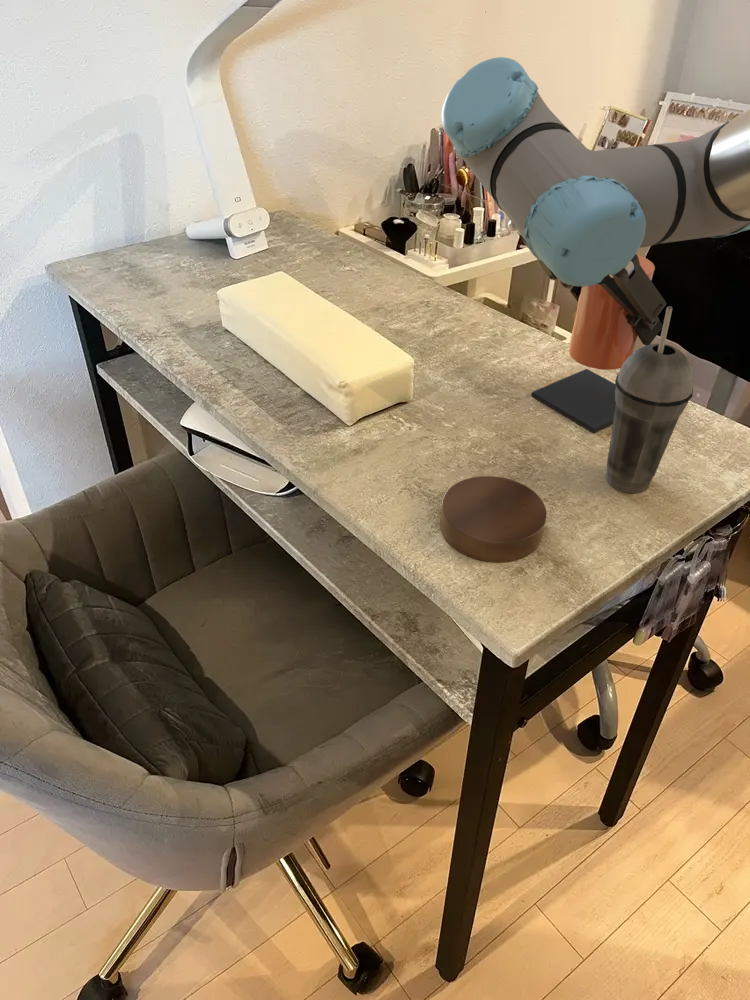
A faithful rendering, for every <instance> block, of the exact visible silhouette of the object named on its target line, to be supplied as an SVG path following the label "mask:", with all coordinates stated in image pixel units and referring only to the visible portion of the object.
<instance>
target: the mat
mask: <svg viewBox="0 0 750 1000" xmlns="http://www.w3.org/2000/svg"><path fill="white" fill-rule="evenodd" d="M615 389H616V383H615V382H613V381H611V380H609V379H607V378H605V377H603V376H601V375H599V374H598V373H595V372H593V371H592V370H589V369H588V368H585V369H582V370H580V371H577V372H576V373H573V374H571V375H568V376H566V377H564V378H562V379H559V380H557V381H555V382H552V383H550V384H548V385H545V386H543V387H540V388H538V389H536V390H534V391H532V392H531V397H532V398H534V399H536V400H537V401H539V402H541V403H542V404H544V405H546V406H547V407H549V408H551V409H553V410H554V411H556V412H557V413H559V414H561V415H563V416H565V417H566V418H568V419H569V420H571V421H572V422H575V423H576V424H577V425H580V426H581V427H583V428H585V429H586V430H588V431H589V432H591V433H593V434H595V433H597V432H600V431H601V430H603V429H605V428H607V427H609V426H613V419H614V413H615V406H616V401H615Z"/></svg>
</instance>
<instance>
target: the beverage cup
mask: <svg viewBox="0 0 750 1000" xmlns="http://www.w3.org/2000/svg"><path fill="white" fill-rule="evenodd" d="M672 312H673V307H672V306H670V305H669V306H667V307H666V309H665V315H664V319H663V324H662V326H663V327H662V329H661V333H660V337H659V342H658V343H651V344H650V345H647V346H646V345H644V346H642V347H639V348H638V349H636V350H634V352H633V354H631V355H630V356H629V357H628V358H627V359H626V361H625V362H624V363H623V365H622V367H621V368H619V371H618V373H617V375H616V377H615V381H614V384H616V389H615V401H616V406H615V413H614V419H613V424H612V425H611V434H610V440H609V442H610V443H609V448H608V454H607V461H606V474H605V480H606V482H607V483H608V485H609V486H610V487H612V488H613V489H614V490H616V491H619V492H621V493H625V494H636V495H637V494H641V493H644V492H645V491H647V490H648V489H649V487H650V485H651V483H652V481H653V479H654V477H655V475H656V473H657V471H658V468H659V466H660V464H661V462H662V459H663V457H664V454H665V451H666V449H667V447H668V445H669V442H670V441H671V438H672V435H673V433H674V431H675V428H676V425H677V423H678V421H679V419H680V416H681V415H682V414H683V413H684V412H685V409H686V407H687V406H688V404H689V401H690V400H691V399H692V398H693V395H694V383H695V375H694V374H695V373H694V369H693V365H692V364H691V362H690V361H689V359H688V357H687V356H686V355H685V354H684V352H682V351H681V350H679V349H678V348H677V347H674V346H672V345H669V344H666V340H667V337H668V336H667V335H668V331H669V327H670V322H671V317H672Z"/></svg>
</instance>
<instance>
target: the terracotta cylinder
mask: <svg viewBox="0 0 750 1000" xmlns="http://www.w3.org/2000/svg"><path fill="white" fill-rule="evenodd" d="M636 255H637V256H638V258H639V262H640V266H641V267H642V268H643V270H644V271H645V273H646V274H647V276H648V277H649V279H650V280H651V282H652V281H653V277H654V274H655V270H656V266H655V264H654V263H653V261H651V260H649V259H648V258H646V257H644V256H642V255H639V254H636ZM575 309H576V310H575V315H574V319H573V325H572V329H571V335H570V341H569V345H568V355H569V356H570V358H572V360H573V361H575V362H576V363H578V364H580V365H582V366H584V367H588V368H591V369H595V370H606V371H612V370H620V369H621V367H622V365H623V363H624V362H625V361H626V359H627V358H628V357H629V356H630V355H631V354H633V353H634V352H635V347H636V344H637V339H638V335H637V334H636V332H635V331H634V329H633V327H632V326H631V325H630V324H628V323H627V321H628V320H627V318H626V316H627V315H628V313H627V312H626V311H625V310H624V309H623V308H622V306H621V305H620V304H619V303H618V302H617V301H616V300H615V299H614V298H613V297H612V296H611V295H610V294H609V293H608V292H607V291H606V290H605V289H604V288H603V287H602V286H601V285H598V284H594V285H590V286H581V289H580V294H579V299H578V302H577V305H576V308H575Z"/></svg>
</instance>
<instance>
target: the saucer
mask: <svg viewBox="0 0 750 1000" xmlns="http://www.w3.org/2000/svg"><path fill="white" fill-rule="evenodd" d="M441 500H442V501H441V508H440V519H439V522H440V523H439V527H440V531H441V533H442V536H443V538H444V539H445V541H446V542H447V543H448V544H449V545H450V546H451V547H452V548H453V549H455V550H456V551H457V552H458V553H461V554H463V555H465V556H467V557H469V558H472V559H474V560H478V561H482V562H489V563H507V562H513V561H517V560H521V559H523V558H525V557H527V556H529V555H531V554H532V553H533V552H534V551H535V550H537V548H539V546H540V545H541V542H542V539H543V536H544V532H545V531H544V530H545V526H546V521H547V516H548V515H547V507H546V505H545V503H544V501H543V500H542V498H541V497H540V496H539V495H538V494H537V493H536V492H535V491H534V490H532V489H531V488H530V487H529V486H527V485H525V484H523V483H521V482H519V481H516V480H513V479H511V478H507V477H501V476H494V475H493V476H492V475H482V476H474V477H469V478H466V479H463V480H460V481H458V482H457V483H454V484H453V485H452V486H450V487H449V488H448V490H446V491H445V493H444V495H443V497H442V499H441Z"/></svg>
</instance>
